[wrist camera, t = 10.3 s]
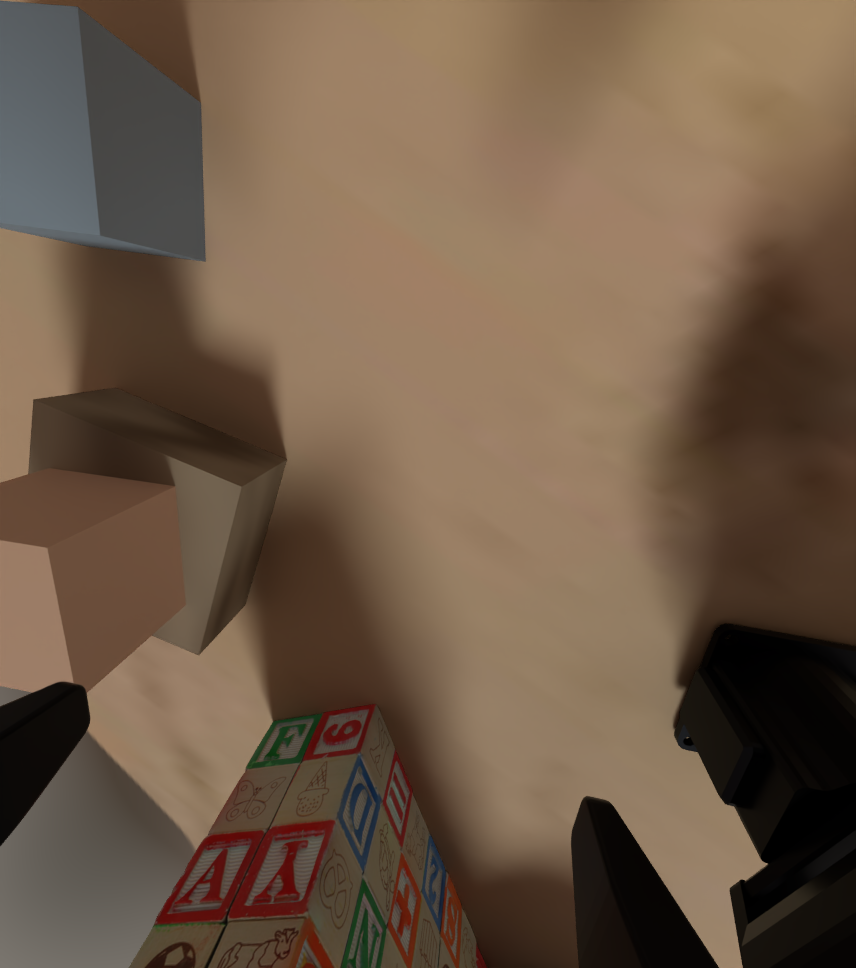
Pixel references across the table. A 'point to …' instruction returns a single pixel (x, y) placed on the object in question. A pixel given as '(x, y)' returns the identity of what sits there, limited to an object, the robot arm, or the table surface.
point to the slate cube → (95, 138)
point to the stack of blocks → (316, 864)
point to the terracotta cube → (83, 574)
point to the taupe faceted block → (199, 491)
